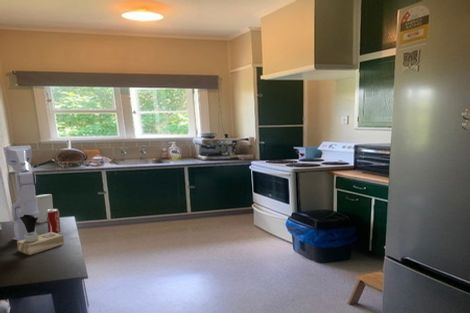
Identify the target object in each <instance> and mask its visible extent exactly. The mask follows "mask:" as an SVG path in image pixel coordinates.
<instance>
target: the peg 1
mask: <svg viewBox="0 0 470 313" xmlns="http://www.w3.org/2000/svg"><path fill="white" fill-rule="evenodd" d="M38 235H39V233H38V232H37V231H36V232H31V233H28V234H24V236H25V242H26V243H32V242H35V241H38Z"/></svg>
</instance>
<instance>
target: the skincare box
mask: <svg viewBox="0 0 470 313" xmlns="http://www.w3.org/2000/svg"><path fill="white" fill-rule="evenodd" d="M36 204H37V209H38V211H39V212H40V215H41V217H38V219H37V222H36V224H37V223H38V224H42V223H46V222H47V210H50V209H54V205H53V195H52V194H51V193H48V194H39V195H36Z"/></svg>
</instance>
